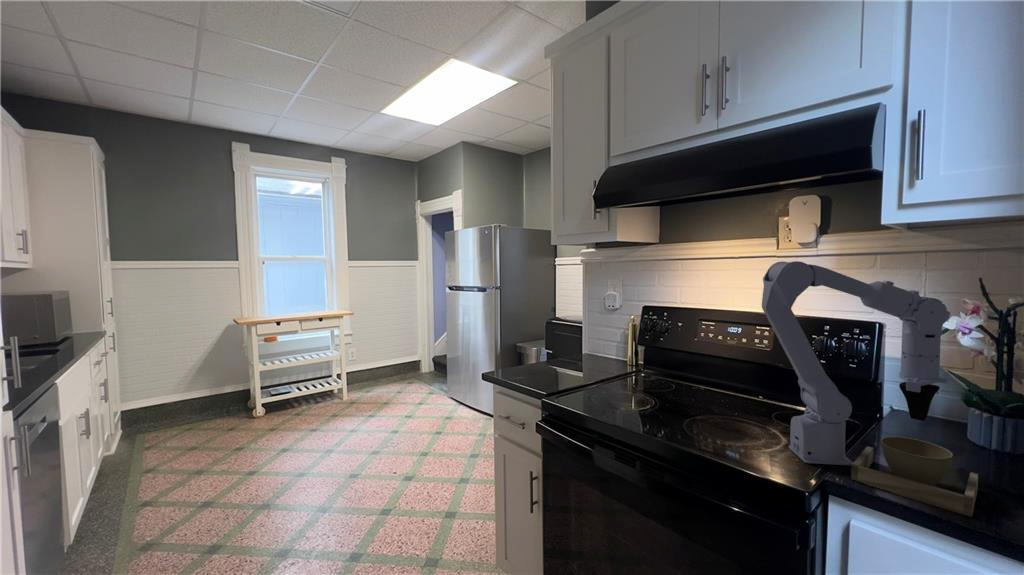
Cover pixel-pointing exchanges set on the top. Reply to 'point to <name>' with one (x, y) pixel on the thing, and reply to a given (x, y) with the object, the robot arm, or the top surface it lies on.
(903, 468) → the yellow bowl
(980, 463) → the top surface
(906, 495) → the frame
